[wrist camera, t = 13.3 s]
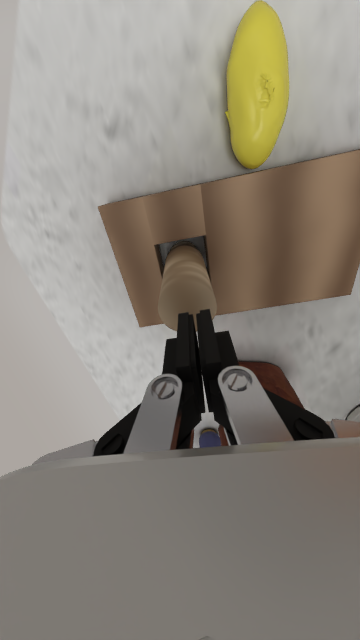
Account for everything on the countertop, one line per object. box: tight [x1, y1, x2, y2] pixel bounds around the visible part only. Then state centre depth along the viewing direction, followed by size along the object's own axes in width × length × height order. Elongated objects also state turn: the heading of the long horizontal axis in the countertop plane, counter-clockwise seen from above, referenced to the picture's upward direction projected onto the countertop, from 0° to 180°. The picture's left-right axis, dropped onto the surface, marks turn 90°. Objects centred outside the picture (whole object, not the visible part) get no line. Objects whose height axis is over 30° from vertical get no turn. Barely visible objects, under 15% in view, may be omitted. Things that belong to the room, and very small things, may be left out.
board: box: [98, 149, 360, 327], centre depth 20 cm, size 22×12×3 cm, turn 100°
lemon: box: [225, 1, 289, 169], centre depth 14 cm, size 4×8×4 cm, turn 6°
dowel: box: [158, 241, 217, 331], centre depth 18 cm, size 4×4×11 cm
